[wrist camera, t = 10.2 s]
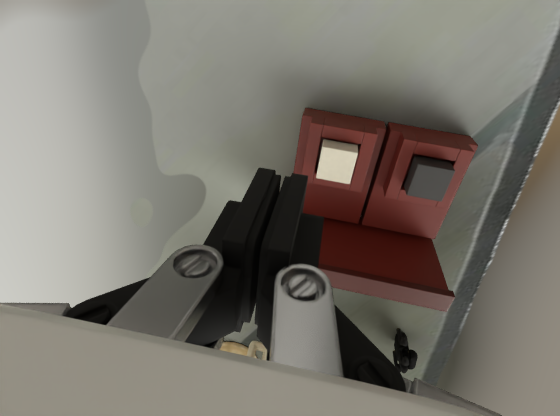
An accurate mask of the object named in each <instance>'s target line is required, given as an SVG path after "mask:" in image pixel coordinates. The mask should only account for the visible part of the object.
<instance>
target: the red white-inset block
mask: <svg viewBox="0 0 560 416" xmlns="http://www.w3.org/2000/svg"><path fill="white" fill-rule="evenodd" d="M385 133H386V126H385V123H384V121H379V120H373V119H367V118H362V117H356V116H350V115H344V114H339V113H333V112H327V111H321V110H315V109H310V108H305V111H304V113H303V116H302V122H301V129H300V135H299V141H298V147H297V154H296V160H295V166H294V173H295V174H301V175H307V176H308V182H307V188H306V195H305V201H304V208H303V213H306V214H311V215H317V216H322V217H326V218H331V219H336V220H341V221H346V222H351V223H356V224H358V222H359V219H360V216H361V212H362V209H363V206H364V202H365V199H366V196H367V192H368V189H369V186H370V182H371V179H372V176H373V173H374V169H375V166H376V163H377V159H378V156H379V153H380V149H381V146H382V143H383V139H384V136H385ZM324 139H326V140H332V141H337V142H343V143H348V144H354V145H358V155H357V159H356V163H355V167H354V170H353V174H352V178H351V182H350V184H345V183H340V182H335V181H329V180H324V179H319V178H316V175H317V169H318V164H319V159H320V154H321V149H322V144H323V140H324Z"/></svg>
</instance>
